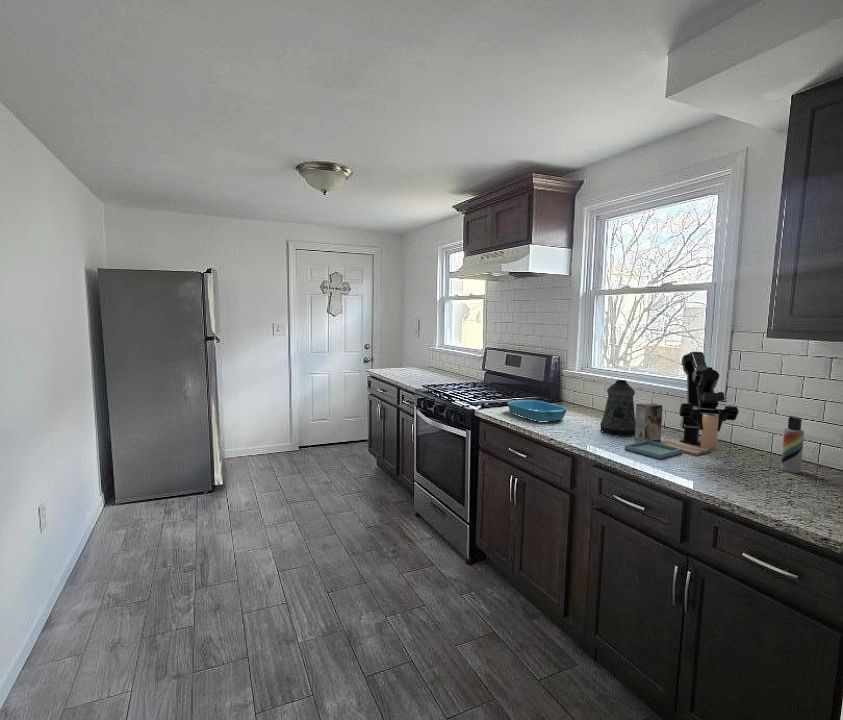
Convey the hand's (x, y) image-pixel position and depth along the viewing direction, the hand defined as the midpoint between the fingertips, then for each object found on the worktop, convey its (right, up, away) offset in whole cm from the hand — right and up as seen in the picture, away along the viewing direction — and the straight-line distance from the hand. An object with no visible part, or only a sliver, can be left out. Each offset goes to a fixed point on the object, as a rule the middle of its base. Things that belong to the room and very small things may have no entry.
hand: (710, 430), depth 174 cm
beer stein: (-12, -9, +53) cm, 55 cm away
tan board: (+3, -11, +23) cm, 26 cm away
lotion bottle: (+27, -14, -4) cm, 31 cm away
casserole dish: (-44, -6, +84) cm, 95 cm away
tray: (-12, -12, +19) cm, 25 cm away
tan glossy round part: (+1, -6, +2) cm, 7 cm away
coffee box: (-5, -10, +38) cm, 40 cm away
